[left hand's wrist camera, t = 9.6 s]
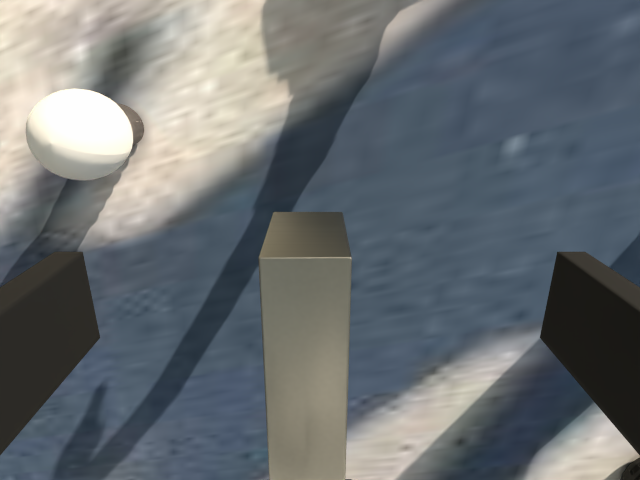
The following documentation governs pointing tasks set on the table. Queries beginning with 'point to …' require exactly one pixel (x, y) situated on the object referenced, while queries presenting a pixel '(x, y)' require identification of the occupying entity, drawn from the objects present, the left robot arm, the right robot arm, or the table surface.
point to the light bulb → (82, 134)
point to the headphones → (632, 471)
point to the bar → (306, 343)
